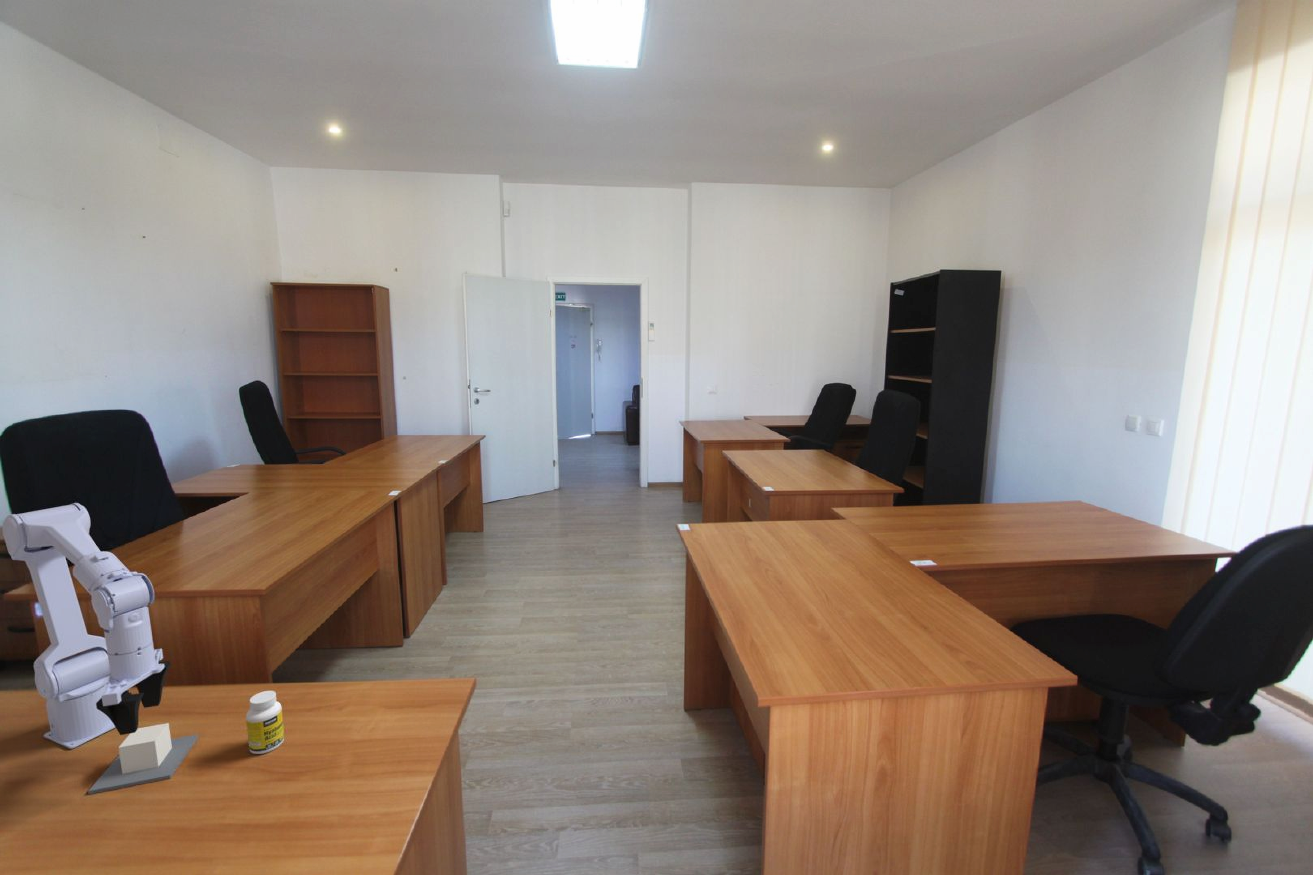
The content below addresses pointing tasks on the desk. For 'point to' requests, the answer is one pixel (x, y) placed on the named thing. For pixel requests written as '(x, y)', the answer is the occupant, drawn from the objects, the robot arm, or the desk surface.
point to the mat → (165, 770)
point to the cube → (145, 748)
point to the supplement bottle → (264, 723)
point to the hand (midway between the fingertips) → (140, 718)
